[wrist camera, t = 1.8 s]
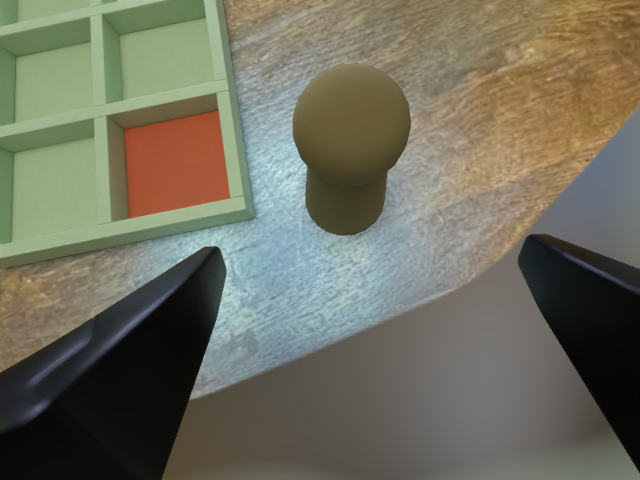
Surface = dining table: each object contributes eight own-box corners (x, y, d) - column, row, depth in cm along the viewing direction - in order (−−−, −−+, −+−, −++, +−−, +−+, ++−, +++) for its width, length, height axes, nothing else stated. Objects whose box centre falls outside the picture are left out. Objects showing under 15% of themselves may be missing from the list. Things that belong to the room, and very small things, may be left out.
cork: (300, 231, 22) (266, 168, 11) (309, 157, 23) (286, 33, 12) (381, 239, 21) (428, 180, 11) (387, 162, 22) (434, 39, 12)
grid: (255, 218, 22) (245, 209, 20) (3, 268, 23) (-35, 265, 20) (201, -139, 30) (190, -176, 28) (15, -98, 30) (-12, -131, 28)
